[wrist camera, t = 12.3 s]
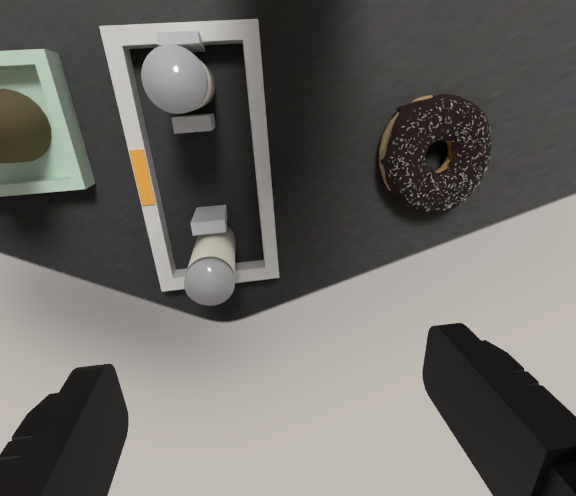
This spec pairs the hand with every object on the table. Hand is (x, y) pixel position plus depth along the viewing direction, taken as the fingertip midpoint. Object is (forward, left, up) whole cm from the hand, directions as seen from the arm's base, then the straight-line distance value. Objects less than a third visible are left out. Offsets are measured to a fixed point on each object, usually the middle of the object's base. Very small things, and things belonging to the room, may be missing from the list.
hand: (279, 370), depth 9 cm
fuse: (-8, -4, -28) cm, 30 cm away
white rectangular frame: (0, -4, -28) cm, 29 cm away
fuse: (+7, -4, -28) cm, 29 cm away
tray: (-5, -20, -28) cm, 35 cm away
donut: (0, +19, -29) cm, 34 cm away
